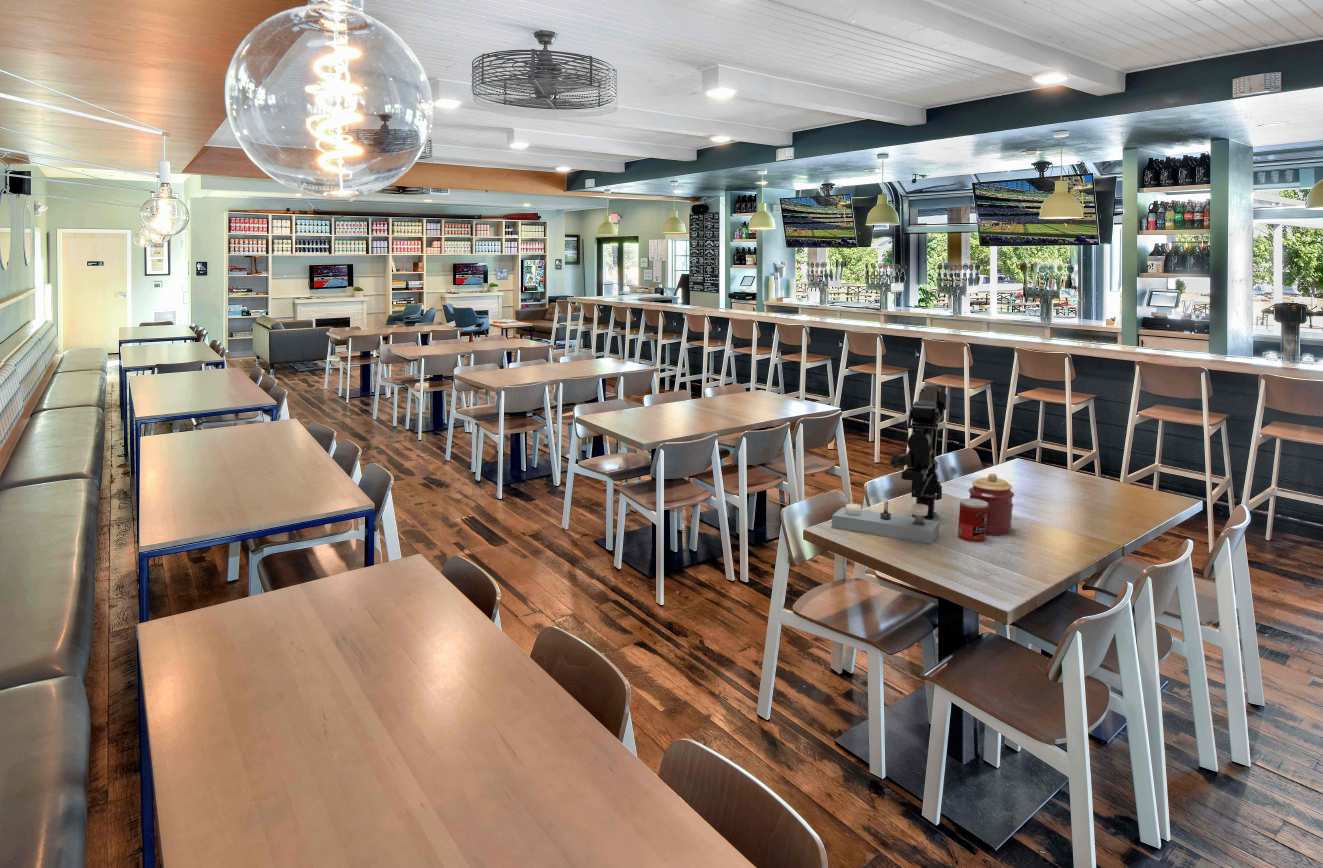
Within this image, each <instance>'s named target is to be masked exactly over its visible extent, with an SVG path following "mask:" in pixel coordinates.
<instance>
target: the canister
mask: <svg viewBox="0 0 1323 868" xmlns="http://www.w3.org/2000/svg"><path fill="white" fill-rule="evenodd" d="M971 482H972V483H971V484H972V487H969V488H968V492H969V498H968V499H979V500H983V501H985V502H987V503H988V518H987V529H986V535H990V536H991V535H992V536H1002V535H1007V534H1009V533H1010V532H1011V529H1012V524H1013V523H1012V517H1013V507H1014V503H1013V498H1014V497H1015V493H1014V492H1013V491H1012V490H1011V489H1013V486H1012V485H1011V484H1010V483H1009V482H1008V481H1007V480H1005V479H1002V478H998V475H997V474H995V473H993V472H991V473H989V474H988V476H987V477H979V478H977V479H975V480H973V481H971Z"/></svg>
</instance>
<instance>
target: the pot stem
mask: <svg viewBox="0 0 1323 868" xmlns="http://www.w3.org/2000/svg"><path fill="white" fill-rule="evenodd" d="M883 502H884V503H883V511H882V512H880V513H881V514H880V518H881V519H883V520H890V518H891V513H890V512H889V500H884V501H883Z"/></svg>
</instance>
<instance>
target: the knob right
mask: <svg viewBox="0 0 1323 868" xmlns="http://www.w3.org/2000/svg"><path fill="white" fill-rule="evenodd" d="M911 514H913V515H915V516H914V518H915V521H914V522H915V523H917V524H923V523H924V519H925V518H924V516H926V515H928V506H927V505H925V504H916V503H912V504H911Z"/></svg>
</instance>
